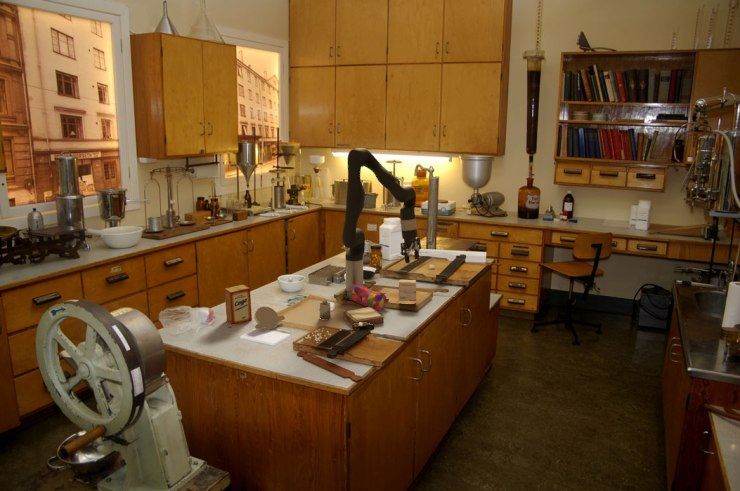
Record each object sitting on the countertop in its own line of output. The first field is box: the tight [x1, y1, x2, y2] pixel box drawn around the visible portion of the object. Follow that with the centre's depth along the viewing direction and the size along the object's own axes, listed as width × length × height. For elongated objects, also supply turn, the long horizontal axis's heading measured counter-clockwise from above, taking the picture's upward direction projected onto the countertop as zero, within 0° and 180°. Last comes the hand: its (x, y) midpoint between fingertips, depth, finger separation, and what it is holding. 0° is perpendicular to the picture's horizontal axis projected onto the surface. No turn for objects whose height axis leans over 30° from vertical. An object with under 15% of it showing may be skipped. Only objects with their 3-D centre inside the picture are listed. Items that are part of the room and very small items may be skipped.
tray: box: [342, 306, 385, 326], centre depth 260 cm, size 14×14×3 cm
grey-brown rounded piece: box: [254, 306, 286, 331], centre depth 253 cm, size 15×8×11 cm, turn 138°
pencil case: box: [346, 284, 390, 312], centre depth 278 cm, size 22×9×9 cm, turn 47°
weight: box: [318, 300, 332, 320], centre depth 262 cm, size 5×5×8 cm
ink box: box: [398, 279, 417, 302], centre depth 280 cm, size 9×5×12 cm, turn 84°
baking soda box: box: [224, 284, 253, 325], centre depth 258 cm, size 10×6×16 cm
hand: (412, 261), depth 274 cm, fingers open, 8 cm apart
